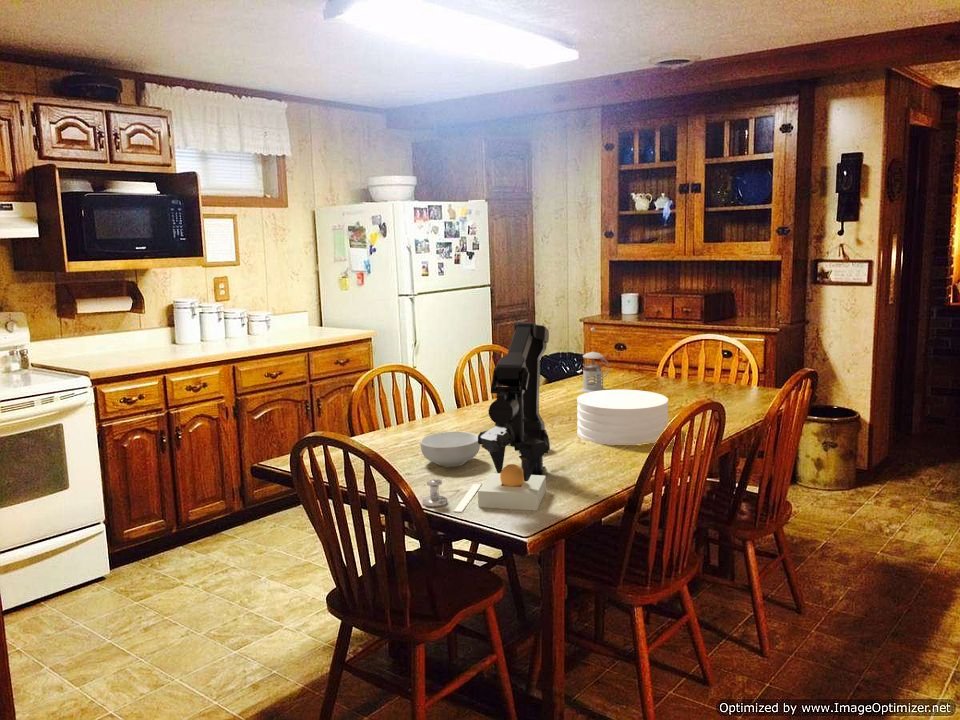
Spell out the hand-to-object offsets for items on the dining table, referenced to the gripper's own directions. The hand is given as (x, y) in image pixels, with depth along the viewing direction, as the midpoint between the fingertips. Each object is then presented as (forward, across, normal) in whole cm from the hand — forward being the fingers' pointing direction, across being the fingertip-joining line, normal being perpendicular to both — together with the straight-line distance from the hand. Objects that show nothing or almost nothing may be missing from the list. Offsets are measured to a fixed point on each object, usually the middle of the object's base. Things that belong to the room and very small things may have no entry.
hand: (512, 477), depth 194 cm
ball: (0, 0, 0) cm, 0 cm away
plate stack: (+6, -18, +66) cm, 69 cm away
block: (+6, 0, 0) cm, 6 cm away
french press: (+6, -66, +113) cm, 131 cm away
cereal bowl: (+6, -34, +10) cm, 36 cm away
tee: (+6, -12, -15) cm, 20 cm away
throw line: (+6, -9, -7) cm, 12 cm away
